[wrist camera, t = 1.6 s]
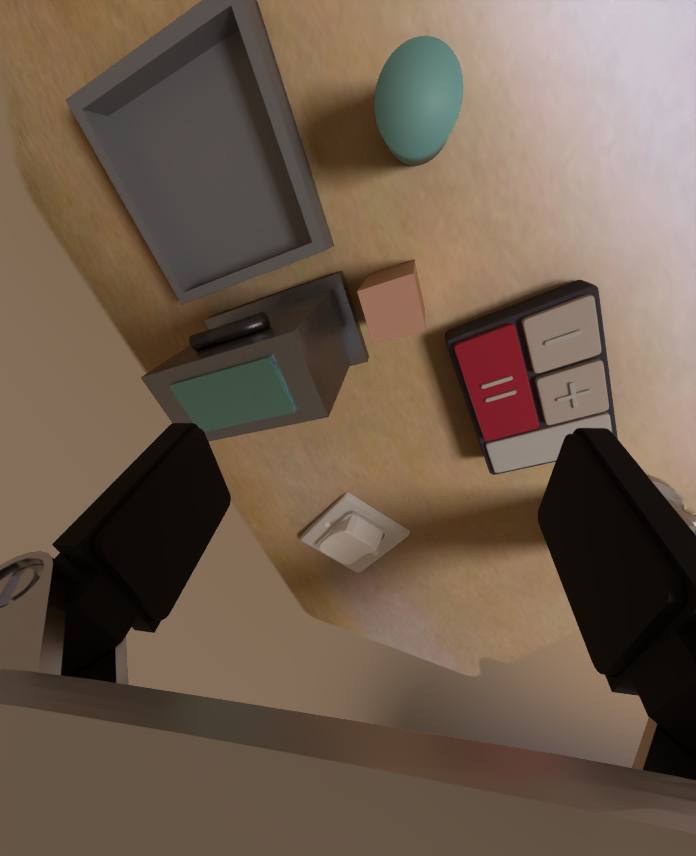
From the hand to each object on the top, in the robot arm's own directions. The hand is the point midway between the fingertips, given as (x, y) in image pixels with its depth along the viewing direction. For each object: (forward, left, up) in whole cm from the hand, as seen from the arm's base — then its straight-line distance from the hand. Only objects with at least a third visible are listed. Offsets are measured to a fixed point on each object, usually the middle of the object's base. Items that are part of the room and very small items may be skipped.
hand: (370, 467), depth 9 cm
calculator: (-9, +12, -24) cm, 28 cm away
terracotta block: (+1, 0, -24) cm, 24 cm away
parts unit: (+12, +1, -24) cm, 27 cm away
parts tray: (+12, -12, -24) cm, 29 cm away
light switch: (+15, +31, -25) cm, 42 cm away
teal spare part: (-3, -10, -24) cm, 26 cm away
